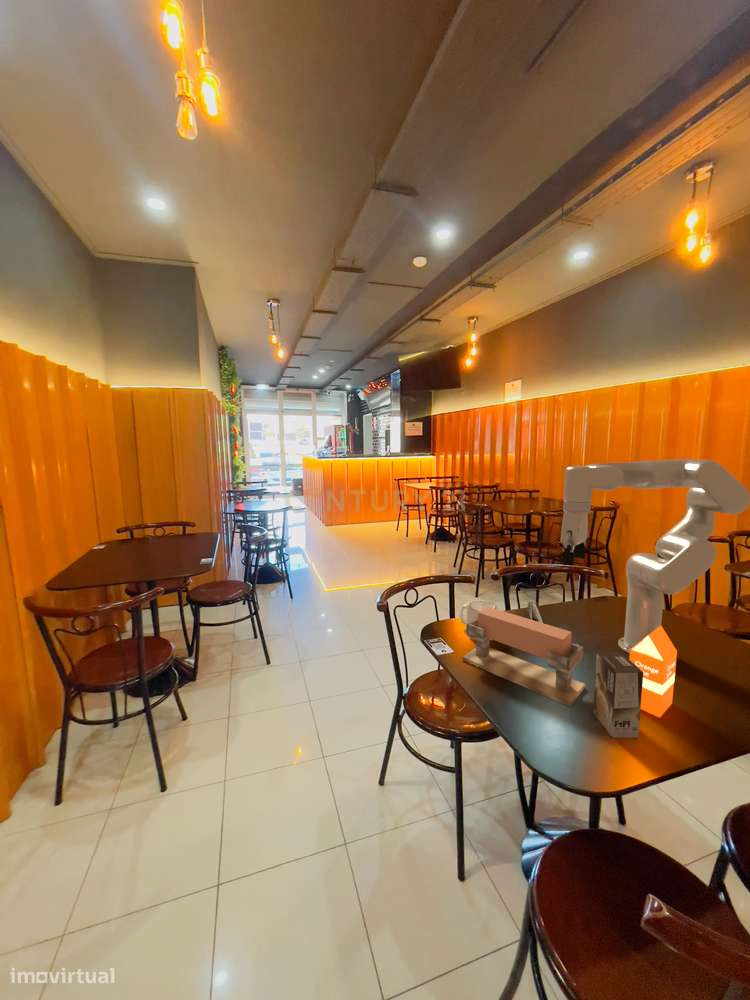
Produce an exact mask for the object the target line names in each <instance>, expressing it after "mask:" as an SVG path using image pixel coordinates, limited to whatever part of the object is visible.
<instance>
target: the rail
mask: <svg viewBox="0 0 750 1000" xmlns="http://www.w3.org/2000/svg"><path fill="white" fill-rule="evenodd" d="M531 619H532V618H527V617H523V616H520V615H517V614H514V613H510V612H507V611H503V610H500V609H497V608H496V609H494V608H491V607H487V608H485V609H483V610H482V611H480V612H478V627H480V628H483V629H485V631H484V637H487V638H490V639H492V640H491V641H496V642H498V643H500V644H503V645H506V646H509V647H512V648H515V649H518V650H520V651H523V652H525V653H528V654H532V655H535V656H538V657H540V658H543V659H545V660H547V654H548V652H552V653H555V654H558V655H561V656H563V657H566V658H569V657H570V651H571V643H572V631H570V630H566V629H564V628H561V627H557V626H553V625H550V624H547V623H544V622H543V623H541V622H538V620H536V621H535V619H534V620H533V619H532V620H531Z"/></svg>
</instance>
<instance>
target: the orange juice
mask: <svg viewBox="0 0 750 1000" xmlns="http://www.w3.org/2000/svg"><path fill="white" fill-rule="evenodd" d="M676 649H677V648H676V647H675V646H674V644H673V642H672V641H671V639H670V637H669V636H668V634H667V632H666V631H665V629H664V628H663V626H662V625H661V626H660V627H658V628H657V629H656V630H654V631H653V632H652V633H651V634H649V635H648V636H647V637H646V638H644V639H643V640H642V641H640V643H638V644H637V645H636V646H634V647H633V648H632V649H631V650H630V653H629V657H628V659H629V660H630V661H631V662H633V663H634V664H635V665H636V666H637V667H638V668H639V669H640V670H642V671H643V684H642V697H641V710H642V711H645V712H646V713H648V714H650V715H653V716H655V717H658V718H661V717H662V716H663V715H664V713H665V712H666V711H667V710H668V709H669V708H670V707H671V705H673V696H674V686H675V680H676V679H675V677H676V668H677V657H678V656H677V655H678V650H676Z"/></svg>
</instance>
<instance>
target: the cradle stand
mask: <svg viewBox="0 0 750 1000" xmlns="http://www.w3.org/2000/svg"><path fill="white" fill-rule="evenodd" d="M484 631H485V629H483V628H480V627H478V618H476V619H474V620H473V621H471V622H469V623H468V624H467V627H466V626H465V634H466V633H467V635H466V637H468V638H469V637H471V638H474V639H476V640H475V648H473V649H471V651H469V652H468V653H466V654H465V655H463V656H462V661H463V662H465V661H466V662H465V663H467V662H468V664H469V665H472V664H473V665H472V666H474V665H475V667H477V668H479V667H480V668H479V669H481V668H482V670H484V671H486V672H489V673H491V674H493V675H494V676H498V677H500V678H503V679H504V680H508V682H509V681H510V682H512V683H514V684H517V685H518V686H521V687H523V688H525V689H528V690H530V691H533V692H535V693H537V694H540V695H542V696H545V697H547V698H549V699H552V700H554V701H557V702H558V703H561V704H563V705H566V706H568V707H571V706H572V705H573V703H574V702H575V701H576V699H577V698H579V696H580V695H581V694H582V692H583V691H584V689H585V687H586V683H584V682H581V681H579V680H577V679H573V678H572V677H573V670H574V669H575V667H577V665H578V664H579V663H580V662H581V661H582V658H583V657H584V656H583V655H584V646H581V645H579V644H576V643H572V642H571V651H570V657H569V658H566V657H563V656H561V655H558V654H555V653H552V652H548V654H547V659H546V666H547V667H548V668H551V669H554V670H555V671H554V670H553V671H552V670H550V669H548V668H544V667H542V666H539V665H537V664H534V663H532V662H530V661H529V662H528V661H526V660H523V659H521V658H518V657H516V656H513V655H510V654H508V653H505V652H502V651H500V650H497V649H495V648H492V647H490V645H491V644H490V642H491V641H490V638H487V637H484ZM471 638H470V639H471Z"/></svg>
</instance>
